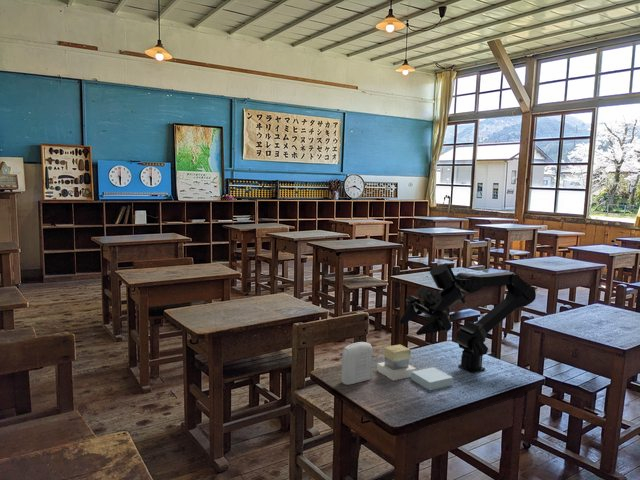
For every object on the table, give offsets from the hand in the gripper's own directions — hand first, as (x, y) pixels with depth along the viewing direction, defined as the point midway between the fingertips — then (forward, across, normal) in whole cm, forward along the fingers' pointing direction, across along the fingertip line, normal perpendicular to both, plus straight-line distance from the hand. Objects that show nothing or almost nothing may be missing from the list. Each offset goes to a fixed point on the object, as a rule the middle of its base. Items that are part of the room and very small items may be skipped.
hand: (408, 328), depth 153 cm
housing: (+8, -4, +12) cm, 15 cm away
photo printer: (+22, -3, +6) cm, 23 cm away
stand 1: (+10, -3, +14) cm, 17 cm away
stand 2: (+4, +7, +17) cm, 18 cm away
